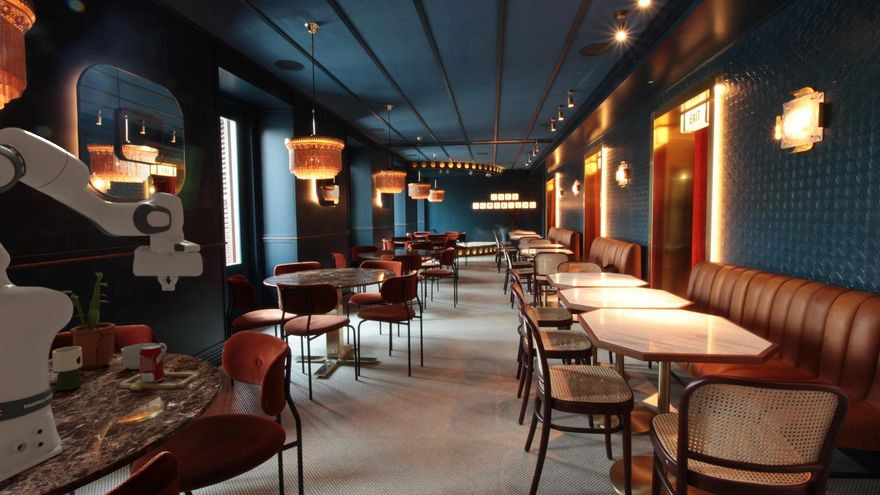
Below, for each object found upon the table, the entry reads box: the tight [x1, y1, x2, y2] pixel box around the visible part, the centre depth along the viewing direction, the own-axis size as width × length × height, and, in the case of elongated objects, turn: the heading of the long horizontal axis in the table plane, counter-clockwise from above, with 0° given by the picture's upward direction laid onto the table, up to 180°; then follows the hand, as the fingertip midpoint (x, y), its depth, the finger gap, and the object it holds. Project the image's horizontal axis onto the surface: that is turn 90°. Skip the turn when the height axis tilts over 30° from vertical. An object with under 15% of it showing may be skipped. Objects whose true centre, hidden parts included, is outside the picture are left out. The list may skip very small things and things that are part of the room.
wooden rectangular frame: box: [115, 369, 202, 391], centre depth 144 cm, size 15×21×1 cm
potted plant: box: [61, 272, 116, 370], centre depth 156 cm, size 17×16×35 cm
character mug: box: [51, 346, 83, 391], centre depth 138 cm, size 11×7×13 cm, turn 39°
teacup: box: [120, 342, 168, 371], centre depth 160 cm, size 14×11×8 cm
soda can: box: [139, 343, 165, 384], centre depth 144 cm, size 7×7×12 cm
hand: (168, 290), depth 133 cm, fingers closed
